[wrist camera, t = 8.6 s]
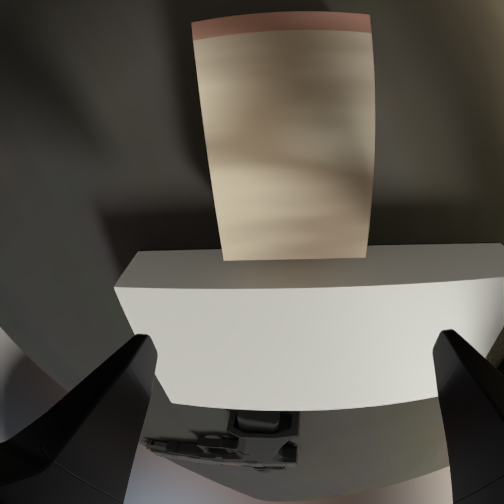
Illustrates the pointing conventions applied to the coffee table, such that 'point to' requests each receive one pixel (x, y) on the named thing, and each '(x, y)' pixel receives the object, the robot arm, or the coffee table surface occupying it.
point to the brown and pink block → (289, 132)
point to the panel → (310, 323)
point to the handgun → (243, 442)
